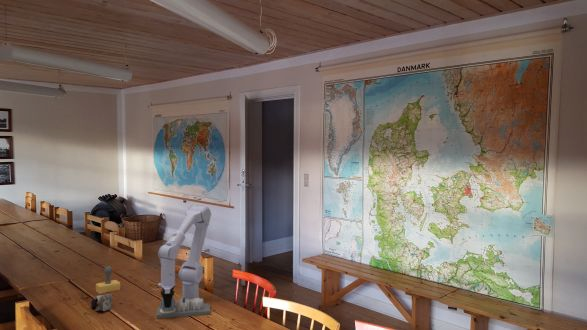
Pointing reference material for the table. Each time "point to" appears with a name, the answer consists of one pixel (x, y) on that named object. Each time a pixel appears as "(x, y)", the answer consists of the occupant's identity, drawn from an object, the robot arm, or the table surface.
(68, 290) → the table surface
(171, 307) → the slate gear
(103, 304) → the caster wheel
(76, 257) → the table surface
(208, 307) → the gear board
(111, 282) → the rubber stamp
